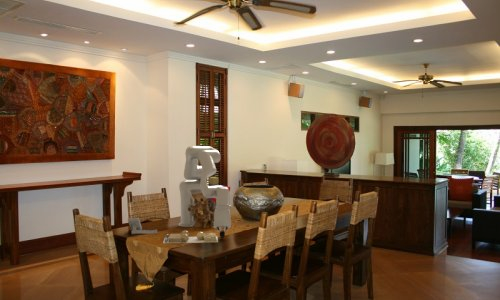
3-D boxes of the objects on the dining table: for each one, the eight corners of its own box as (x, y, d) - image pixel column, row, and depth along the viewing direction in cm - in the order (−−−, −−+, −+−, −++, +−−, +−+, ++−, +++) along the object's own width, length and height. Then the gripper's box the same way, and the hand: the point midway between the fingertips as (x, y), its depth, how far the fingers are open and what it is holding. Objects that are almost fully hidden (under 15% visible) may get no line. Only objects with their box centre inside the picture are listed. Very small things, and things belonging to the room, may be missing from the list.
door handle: (130, 240, 276) (127, 230, 258) (131, 228, 280) (127, 218, 262) (158, 238, 279) (156, 229, 261) (158, 227, 282) (156, 217, 265)
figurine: (218, 211, 354) (218, 175, 353) (232, 215, 336) (232, 177, 336) (195, 213, 341) (195, 176, 340) (208, 217, 324) (209, 179, 323)
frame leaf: (169, 237, 257) (170, 230, 257) (188, 237, 258) (188, 230, 258) (168, 242, 245) (168, 235, 245) (188, 242, 246) (188, 234, 246)
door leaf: (196, 237, 259) (196, 230, 259) (215, 236, 260) (215, 229, 260) (196, 241, 247) (196, 234, 247) (216, 241, 248) (216, 234, 248)
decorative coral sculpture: (226, 209, 315) (231, 208, 285) (211, 237, 310) (214, 239, 280) (196, 192, 313) (199, 190, 284) (180, 219, 308) (181, 220, 279)
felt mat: (164, 237, 258) (164, 237, 258) (217, 236, 262) (217, 236, 262) (162, 244, 243) (162, 243, 243) (218, 242, 247) (218, 242, 247)
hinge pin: (165, 237, 257) (165, 234, 257) (168, 237, 257) (168, 234, 257) (163, 242, 245) (164, 239, 244) (167, 242, 245) (167, 239, 245)
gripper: (234, 206, 259) (233, 236, 260) (209, 206, 257) (209, 236, 258) (235, 208, 252) (235, 238, 252) (210, 208, 250) (210, 239, 250)
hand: (222, 237), depth 255 cm, fingers closed
